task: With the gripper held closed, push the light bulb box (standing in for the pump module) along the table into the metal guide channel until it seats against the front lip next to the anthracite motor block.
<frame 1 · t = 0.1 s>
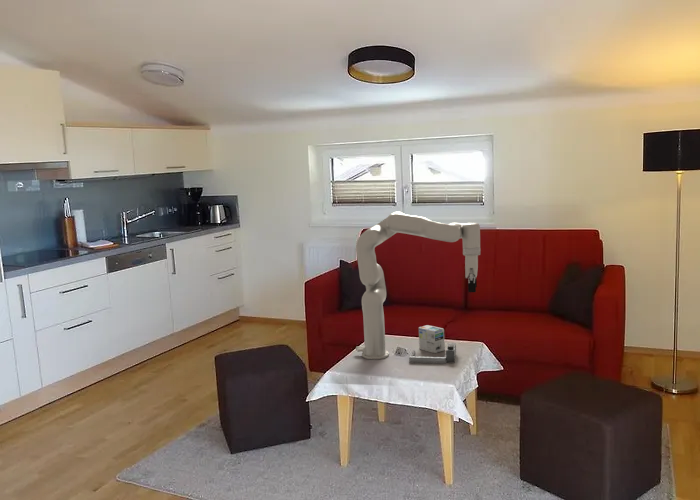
hand: (472, 289, 273), 31 cm above the table, fingers open, 9 cm apart
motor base: (429, 357, 281), on the table
light bulb box: (432, 350, 293), on the table
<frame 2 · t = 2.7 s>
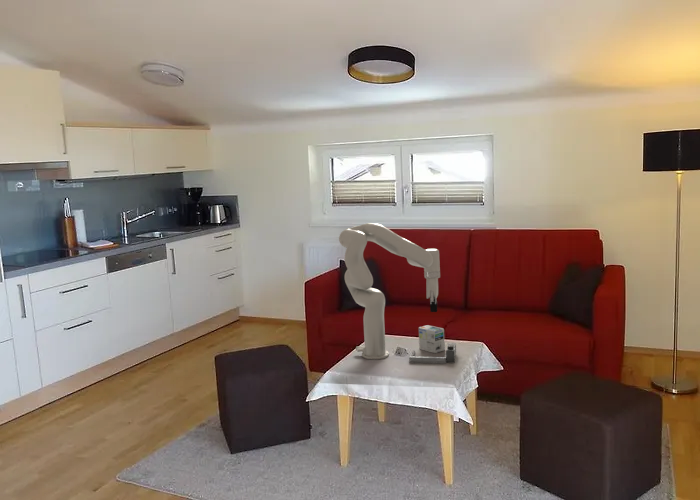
hand: (433, 311, 301), 16 cm above the table, fingers closed
nothing on the table moved.
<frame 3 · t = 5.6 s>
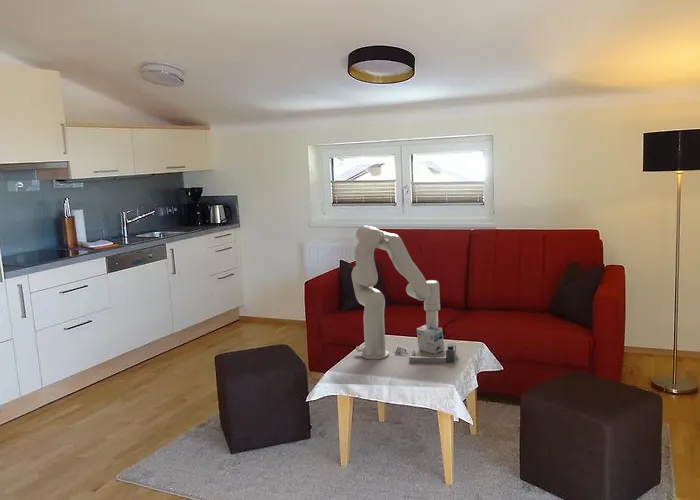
hand: (433, 343, 298), 1 cm above the table, fingers closed
light bulb box: (431, 350, 291), on the table, touching gripper
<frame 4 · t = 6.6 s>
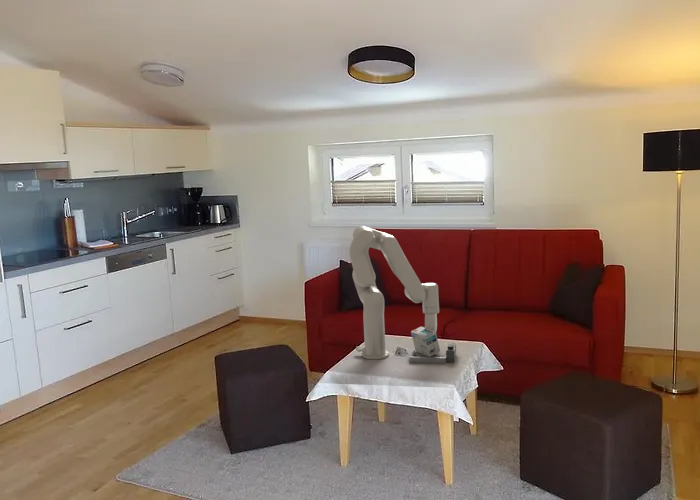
hand: (432, 347, 292), 1 cm above the table, fingers closed
light bulb box: (427, 352, 288), on the table, touching gripper
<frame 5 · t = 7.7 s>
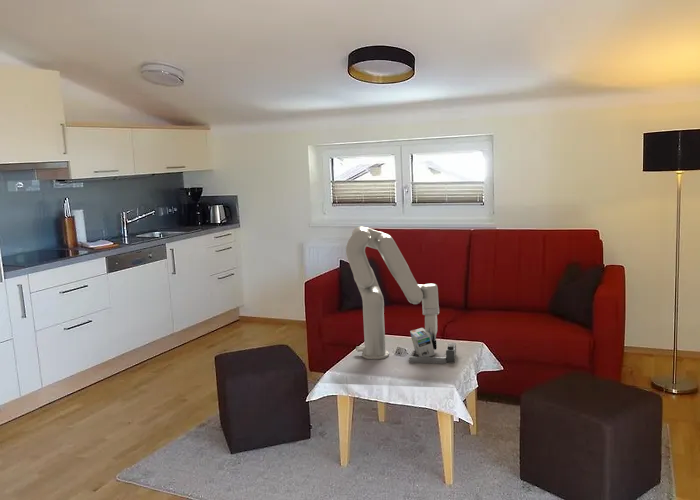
hand: (433, 348, 288), 2 cm above the table, fingers closed
light bulb box: (425, 354, 285), on the table, touching gripper, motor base
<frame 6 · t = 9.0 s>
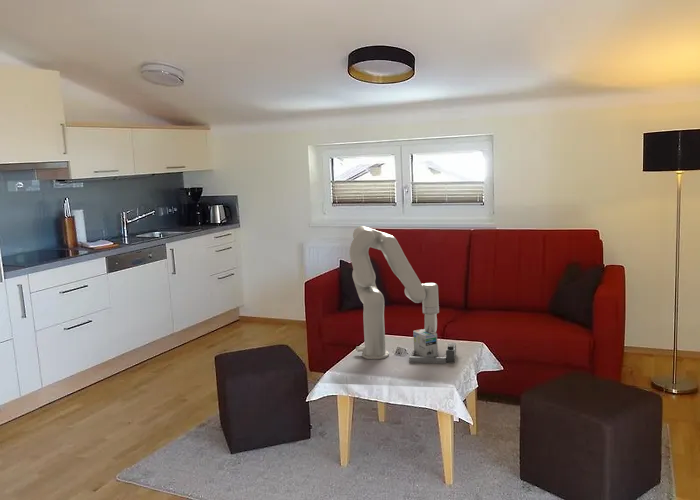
hand: (432, 347, 292), 1 cm above the table, fingers closed
light bulb box: (425, 354, 286), on the table
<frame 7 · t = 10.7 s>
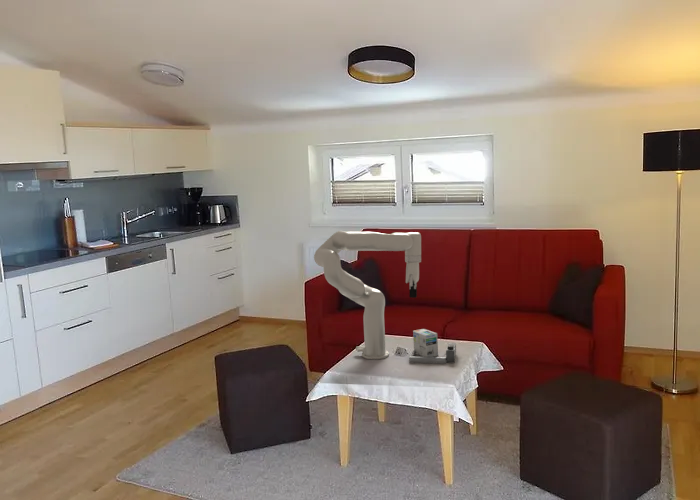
hand: (413, 297, 293), 25 cm above the table, fingers closed
nothing on the table moved.
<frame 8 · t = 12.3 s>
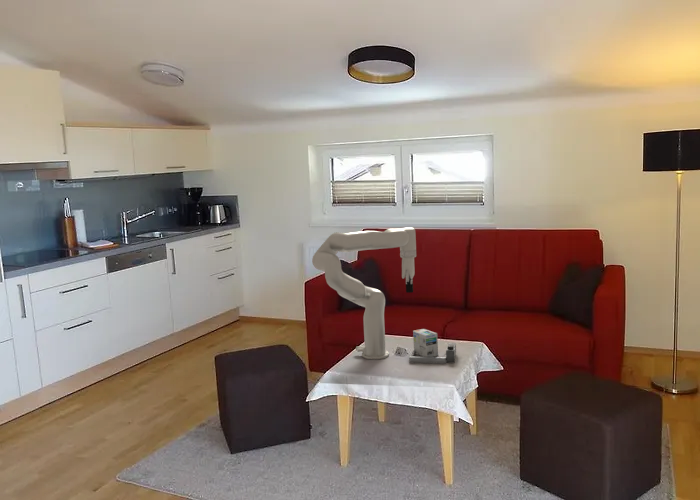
hand: (409, 292, 294), 27 cm above the table, fingers closed
nothing on the table moved.
at the end: light bulb box inside the target area on the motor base (5.1 cm from its centre), point 0.0 cm above the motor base's base; light bulb box tilted 0°; light bulb box moved 7.4 cm from its start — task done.
